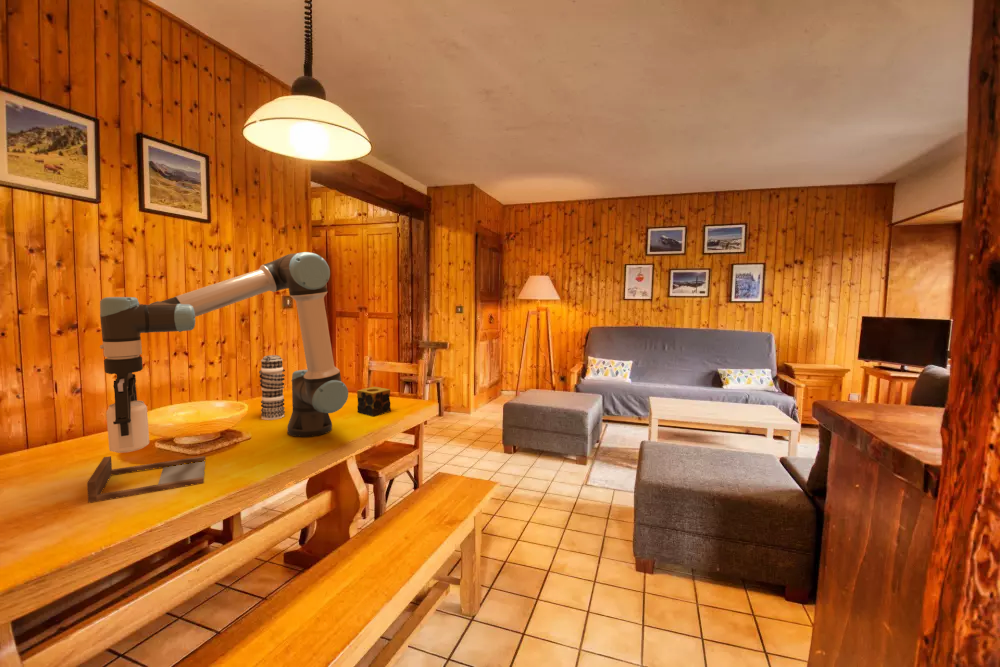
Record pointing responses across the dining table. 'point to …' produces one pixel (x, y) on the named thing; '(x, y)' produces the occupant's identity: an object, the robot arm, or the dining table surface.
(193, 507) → the dining table surface
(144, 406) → the beverage can
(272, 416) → the decorative candle
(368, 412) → the dark patterned box
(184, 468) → the dark frame
